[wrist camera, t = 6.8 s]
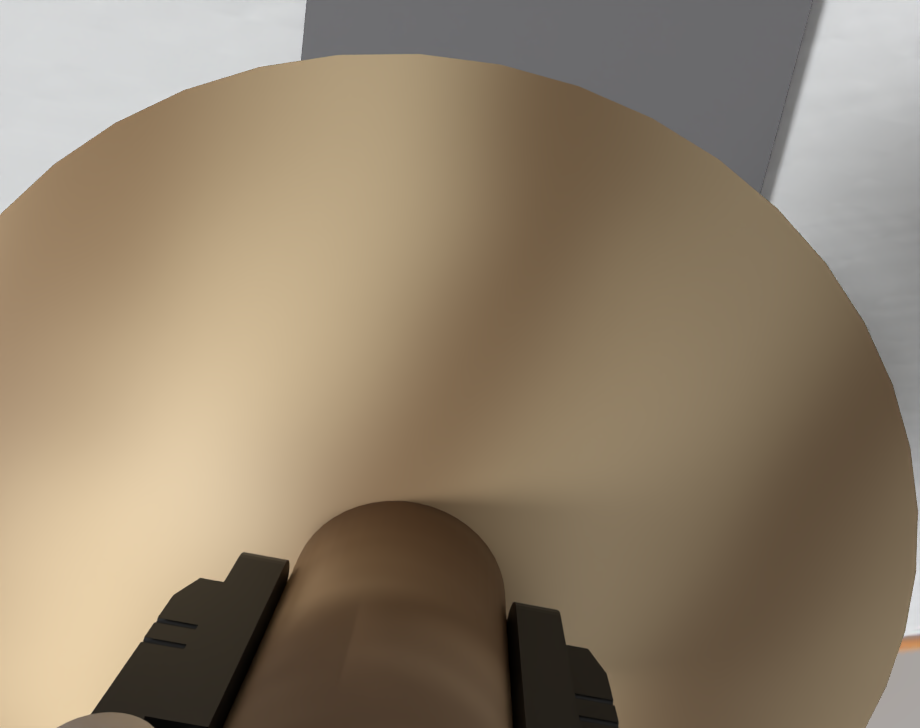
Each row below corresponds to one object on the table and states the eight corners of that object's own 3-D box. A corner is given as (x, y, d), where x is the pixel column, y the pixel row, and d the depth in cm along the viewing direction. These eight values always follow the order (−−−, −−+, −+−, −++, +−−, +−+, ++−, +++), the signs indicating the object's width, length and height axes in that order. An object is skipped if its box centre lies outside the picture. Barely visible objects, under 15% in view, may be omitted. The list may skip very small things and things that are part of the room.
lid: (1034, 182, 11) (1642, 211, 5) (722, 968, 16) (866, 1449, 10) (-62, -40, 11) (-711, -274, 5) (-57, 837, 16) (-389, 1261, 10)
